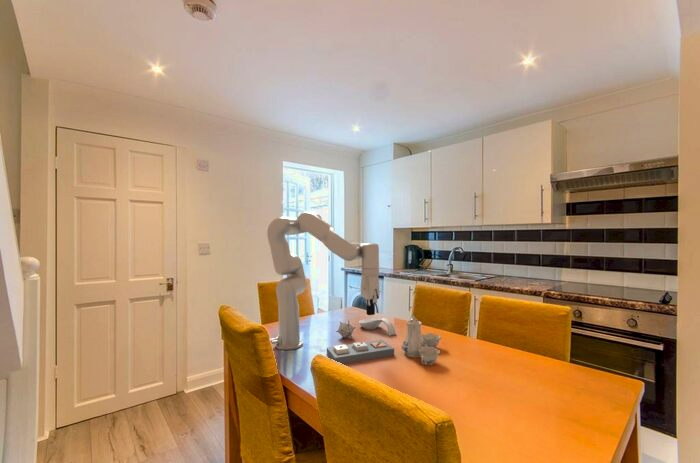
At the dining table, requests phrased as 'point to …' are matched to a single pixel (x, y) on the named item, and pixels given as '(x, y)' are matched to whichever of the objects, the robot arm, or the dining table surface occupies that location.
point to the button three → (378, 345)
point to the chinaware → (420, 343)
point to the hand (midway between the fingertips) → (370, 314)
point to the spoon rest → (377, 324)
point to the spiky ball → (345, 329)
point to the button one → (341, 349)
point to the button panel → (361, 353)
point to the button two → (360, 346)
